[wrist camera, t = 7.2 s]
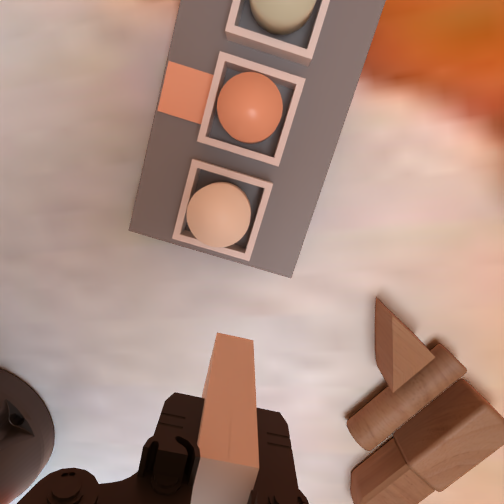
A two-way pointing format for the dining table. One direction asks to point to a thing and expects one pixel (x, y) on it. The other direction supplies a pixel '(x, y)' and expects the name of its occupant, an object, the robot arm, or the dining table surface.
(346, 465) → the dining table surface
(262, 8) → the sage button
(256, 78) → the terracotta button
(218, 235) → the cream button
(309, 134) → the button panel
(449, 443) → the wooden block set
